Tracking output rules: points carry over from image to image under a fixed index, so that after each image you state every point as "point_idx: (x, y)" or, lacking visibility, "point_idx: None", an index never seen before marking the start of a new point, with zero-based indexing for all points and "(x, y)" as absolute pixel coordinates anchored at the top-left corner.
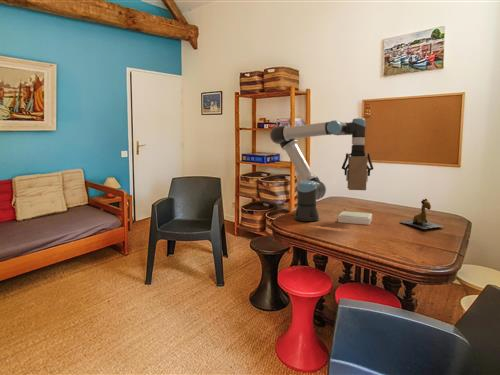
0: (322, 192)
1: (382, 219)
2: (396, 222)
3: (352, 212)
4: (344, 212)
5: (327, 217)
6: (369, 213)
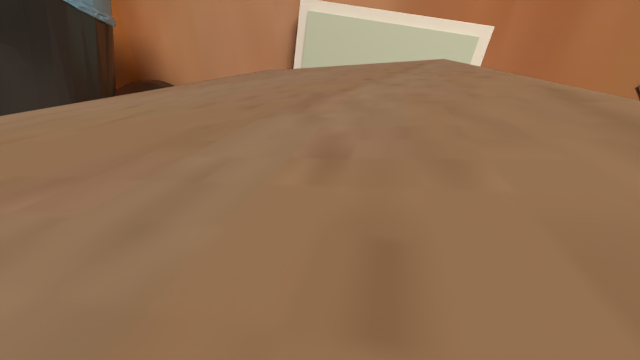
0: (94, 73)
1: (562, 3)
2: (620, 90)
3: (358, 43)
4: (310, 59)
5: (235, 46)
6: (468, 49)
